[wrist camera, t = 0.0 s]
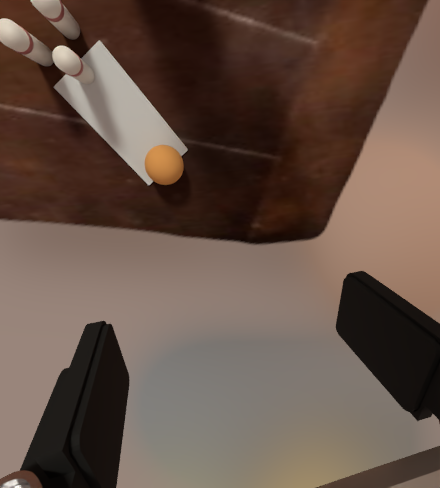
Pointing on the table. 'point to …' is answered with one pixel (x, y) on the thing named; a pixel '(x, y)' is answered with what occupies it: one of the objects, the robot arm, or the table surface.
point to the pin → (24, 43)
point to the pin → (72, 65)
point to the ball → (164, 164)
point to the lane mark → (118, 110)
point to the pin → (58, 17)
